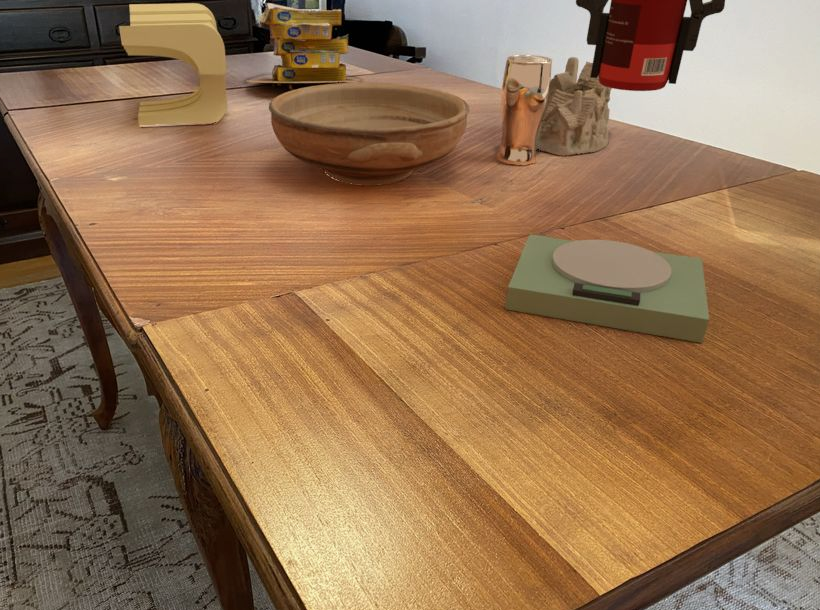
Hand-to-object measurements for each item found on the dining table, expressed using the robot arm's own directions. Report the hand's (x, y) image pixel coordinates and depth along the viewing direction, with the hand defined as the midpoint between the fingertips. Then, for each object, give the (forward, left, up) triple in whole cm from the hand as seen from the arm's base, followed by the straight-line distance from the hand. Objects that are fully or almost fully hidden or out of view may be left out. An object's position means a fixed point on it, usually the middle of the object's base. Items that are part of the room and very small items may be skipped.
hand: (632, 78), depth 81 cm
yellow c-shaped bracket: (+78, -26, -17) cm, 84 cm away
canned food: (0, 0, -1) cm, 1 cm away
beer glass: (+15, -22, -17) cm, 31 cm away
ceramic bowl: (+35, -8, -17) cm, 39 cm away
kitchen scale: (-1, +21, -17) cm, 28 cm away
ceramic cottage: (+10, -36, -17) cm, 41 cm away
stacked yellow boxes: (+67, -57, -17) cm, 89 cm away
